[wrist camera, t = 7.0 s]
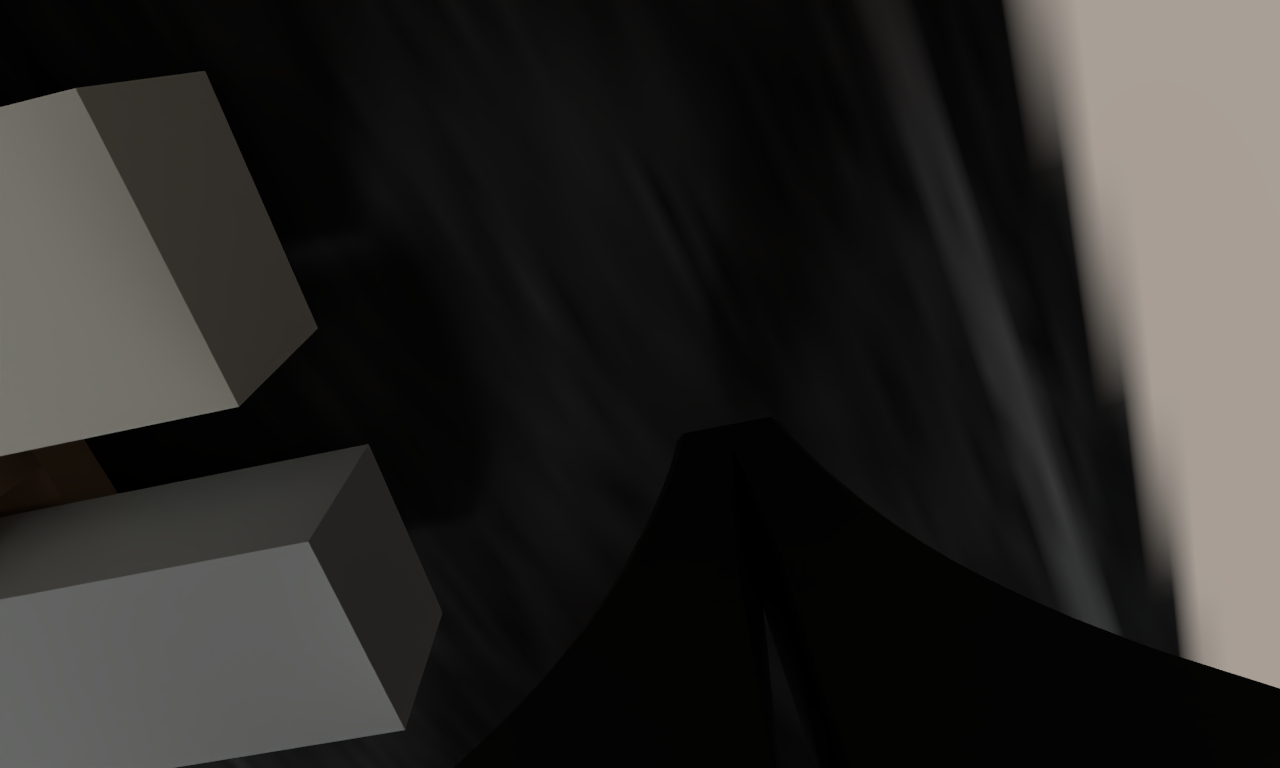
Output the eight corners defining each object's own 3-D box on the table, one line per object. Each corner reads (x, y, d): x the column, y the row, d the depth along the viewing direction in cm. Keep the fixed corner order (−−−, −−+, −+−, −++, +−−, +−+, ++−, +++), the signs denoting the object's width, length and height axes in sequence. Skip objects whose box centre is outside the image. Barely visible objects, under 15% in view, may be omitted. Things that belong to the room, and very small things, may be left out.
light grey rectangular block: (369, 443, 11) (308, 541, 9) (442, 612, 12) (404, 730, 10) (-133, 543, 11) (-294, 655, 9) (-9, 692, 13) (-126, 816, 11)
